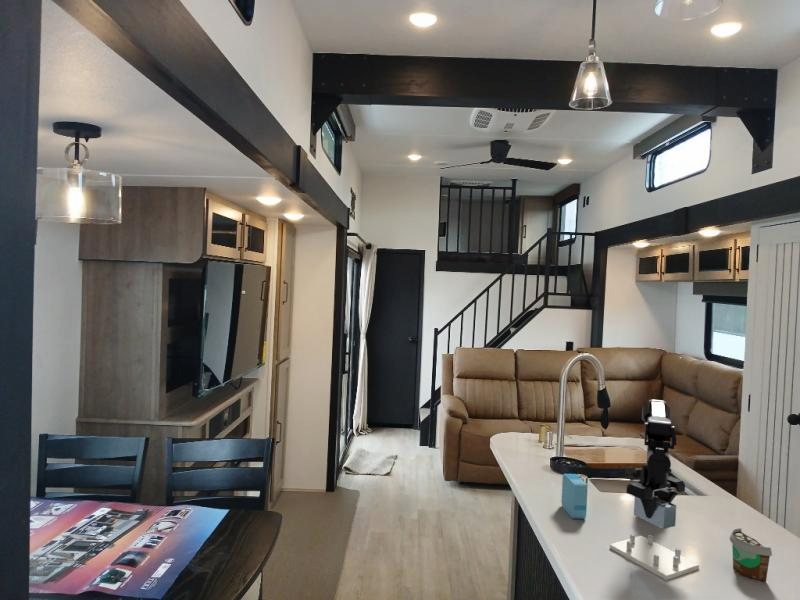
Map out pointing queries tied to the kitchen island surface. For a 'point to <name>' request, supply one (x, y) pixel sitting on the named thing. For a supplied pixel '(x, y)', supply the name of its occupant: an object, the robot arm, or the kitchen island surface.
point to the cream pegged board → (654, 556)
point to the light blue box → (574, 496)
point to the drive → (657, 513)
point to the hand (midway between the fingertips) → (654, 516)
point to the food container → (749, 556)
